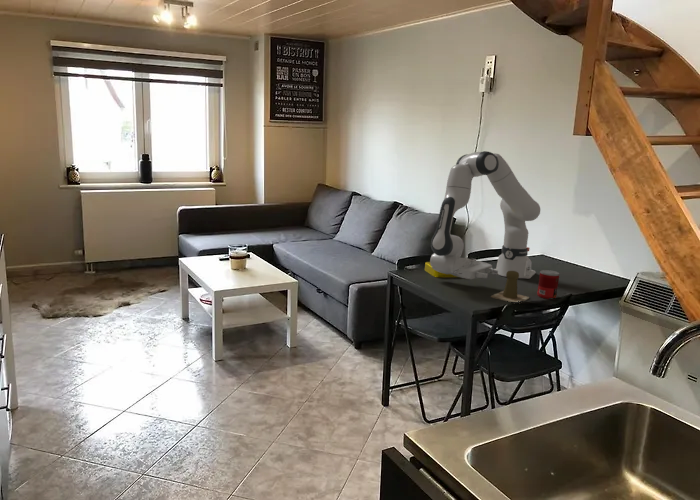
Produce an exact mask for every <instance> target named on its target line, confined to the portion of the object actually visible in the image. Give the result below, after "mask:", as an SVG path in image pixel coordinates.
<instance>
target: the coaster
mask: <svg viewBox="0 0 700 500" xmlns="http://www.w3.org/2000/svg"><path fill="white" fill-rule="evenodd" d="M503 293H504V290H502V291H500V292H497V293H494V294H493V295H491V296H490V298H492V299H496V300H500V301H504V302H507V301H508V302H509V303H511V302H518V301H519V302H520V301H523V302H525V301H528V300H529V299H530V297H529V296H528V295H527V296H526V295H522V294H519V293H517V298H514V299H512V298H506V297H504V296H503Z"/></svg>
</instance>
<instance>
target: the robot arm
mask: <svg viewBox="0 0 700 500" xmlns="http://www.w3.org/2000/svg"><path fill="white" fill-rule="evenodd" d="M482 176H487V179H488V181H489V183H490V184H491V186H492V187H493V189H494V191H495V192H496V193H497V195H498V196H499V197H500V198H501V200H500V204H499V205H500V210H501V212H502V215H503V222H504V236H503V243H502V244H503V245H502V246H501V254H500V255H498V257H497V263H496V268H493V265H492V264H491V263H487V262H485V261H479V260H477V259H476V258H467V257H462V255H463V252H464V249H465V242H464V240H463V239H462V237H460V236H459V235H455V234H451V230H452V225H453V221H454V216H455V214H456V213H457V212H458V211H459V210H460V209H462V208H464V207H466V206H467V205H468V204H469V202H470V197H471V193H472V181H473V179H474V178H475V177H476V178H477V177H482ZM447 177H448V178H447V183H446V187H445V188H446V190H445V194H444V198H443V200H442V203H441V206H440V210H439V213H438V214H439V215H438V218H437V219H438V220H437V223H436V228H435V231H434V234H433V235H432V237H431V241H430V248H431V251H432V252H433V253H432V254H431V256H430V260H429V262H430V264H431V267H432V268H433V269H434V270H435V271H438V272H440V273H444V274H452V275H454V276H457V277H456V278H461V279H467V280H474V279H479V278H482V279H488V278H489V274H492V275H494V276H495V275H496V276H497V275H498V276H502V277H504V278H505V277H506V274H507V272H508V271H516V272H518V273H519V278H518V279H529V280H530V279H531V278H532V277H534V276H535V274H536V270H533V269H532V263H533V262H532V260H531V259H530V258H529V256H528V255H529V253H528V252H530V250H531V249H530V247H528V241H529V230H528V228H527V225H526V222H533V221H534V220H536V219H538V218H539V216H540V214H541V206H540V204H539V203H538V202H537V201H536V200H535V199H534V198H533V197H532V196H531V194H529V192H528V191H527V190H526V189H525V188H524V186H522V185H521V183H520V182H519V180H518V178H517V177H516V175H515V173H514V172H513V170H512V168H511V167H510V165H509V163H508V162H507V161H506V160H505V158H503V156H501V155H500V154H499V153H495V152H494V153H493V152H491V151H487V150H485V151H476V152H475V151H474V152H472V153H469V154H467V153H466V154H464V155H462V156H460V157H459V158H458V159H457V160H456V163H455V165H453V166H452V167H451V168H450V171H449V174H448V176H447ZM506 278H507V277H506Z"/></svg>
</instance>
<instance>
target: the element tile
mask: <svg viewBox="0 0 700 500" xmlns="http://www.w3.org/2000/svg"><path fill="white" fill-rule="evenodd" d="M424 263H425V264H424V271H425V272H426V273H428V274H430V276H432V277H434V278H458V277H457V276H454V275H452V274H444V273H440V272H438V271H435V270H434V269H433V268H432V267H431V264H430V261H426V262H424Z"/></svg>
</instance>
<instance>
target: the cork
mask: <svg viewBox="0 0 700 500" xmlns="http://www.w3.org/2000/svg"><path fill="white" fill-rule="evenodd" d="M519 279H520V278H519V273H518V272H516V271H508V272H507V274H506V281H505V286H504V289H503V291H504V293H503V296H504V297H506V298H512V299H514V298H517V294H518V280H519Z"/></svg>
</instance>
